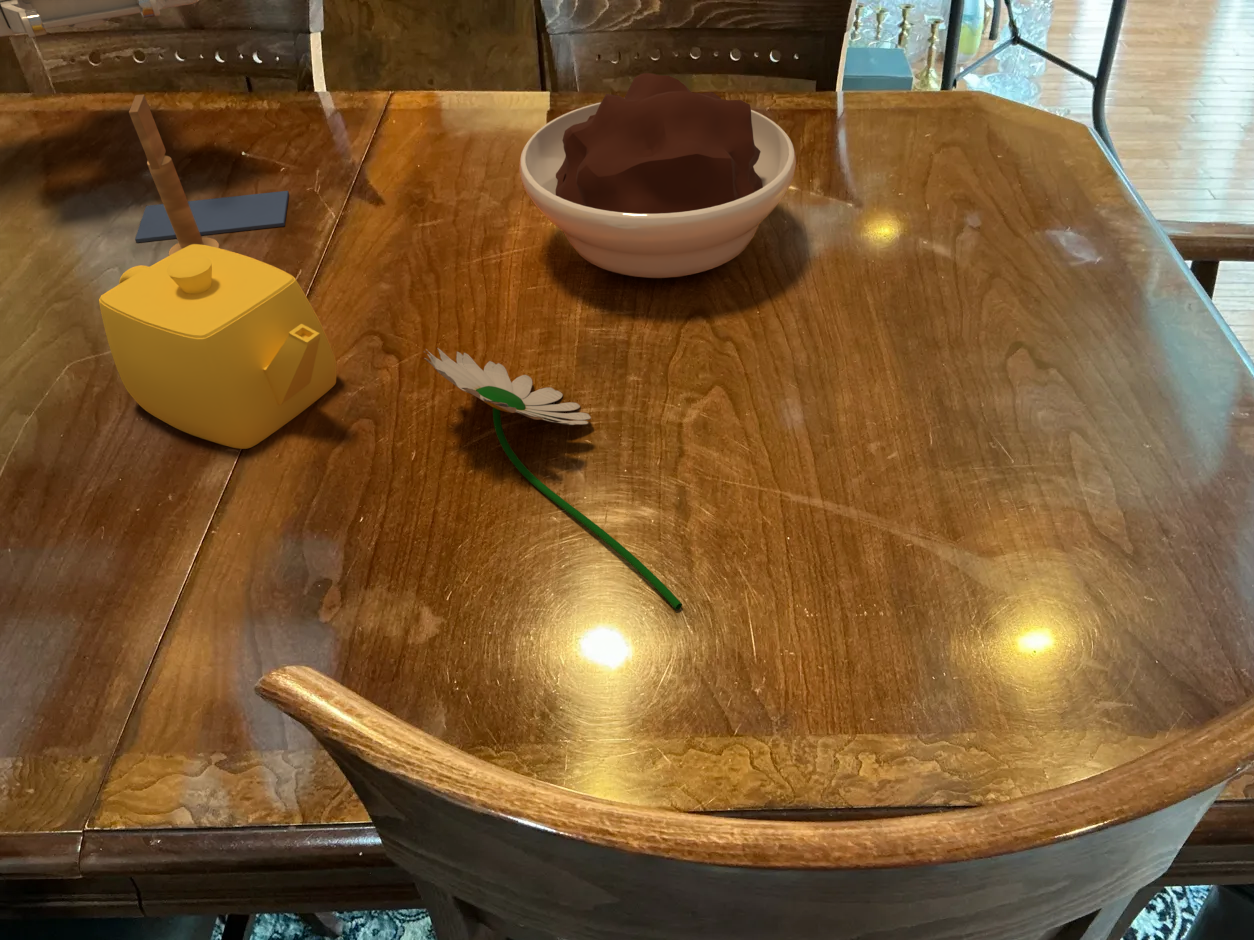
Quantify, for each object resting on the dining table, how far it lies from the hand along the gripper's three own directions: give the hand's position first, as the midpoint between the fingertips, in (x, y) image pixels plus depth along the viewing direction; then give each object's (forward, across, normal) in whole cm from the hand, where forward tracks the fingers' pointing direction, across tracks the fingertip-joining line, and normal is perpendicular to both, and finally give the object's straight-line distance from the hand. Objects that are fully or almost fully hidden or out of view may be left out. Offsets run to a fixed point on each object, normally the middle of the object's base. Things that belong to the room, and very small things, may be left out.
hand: (93, 17), depth 95 cm
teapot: (+34, -1, +20) cm, 39 cm away
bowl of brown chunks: (+31, +39, +19) cm, 53 cm away
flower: (+58, +15, +20) cm, 63 cm away
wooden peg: (+12, 0, +19) cm, 23 cm away
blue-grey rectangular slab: (+2, +4, +19) cm, 20 cm away
